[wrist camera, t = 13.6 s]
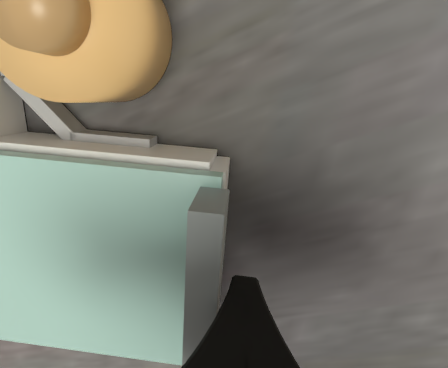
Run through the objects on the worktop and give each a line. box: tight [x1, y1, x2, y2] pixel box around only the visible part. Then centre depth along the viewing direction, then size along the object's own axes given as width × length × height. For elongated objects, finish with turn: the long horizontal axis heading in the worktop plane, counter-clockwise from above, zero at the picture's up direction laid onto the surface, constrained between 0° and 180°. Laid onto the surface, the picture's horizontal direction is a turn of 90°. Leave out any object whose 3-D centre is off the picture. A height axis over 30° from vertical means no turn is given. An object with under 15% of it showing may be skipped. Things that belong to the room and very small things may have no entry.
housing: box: [0, 71, 230, 189], centre depth 11 cm, size 18×10×2 cm, turn 176°
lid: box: [0, 150, 230, 366], centre depth 10 cm, size 9×10×3 cm
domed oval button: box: [0, 0, 172, 103], centre depth 9 cm, size 5×5×4 cm
